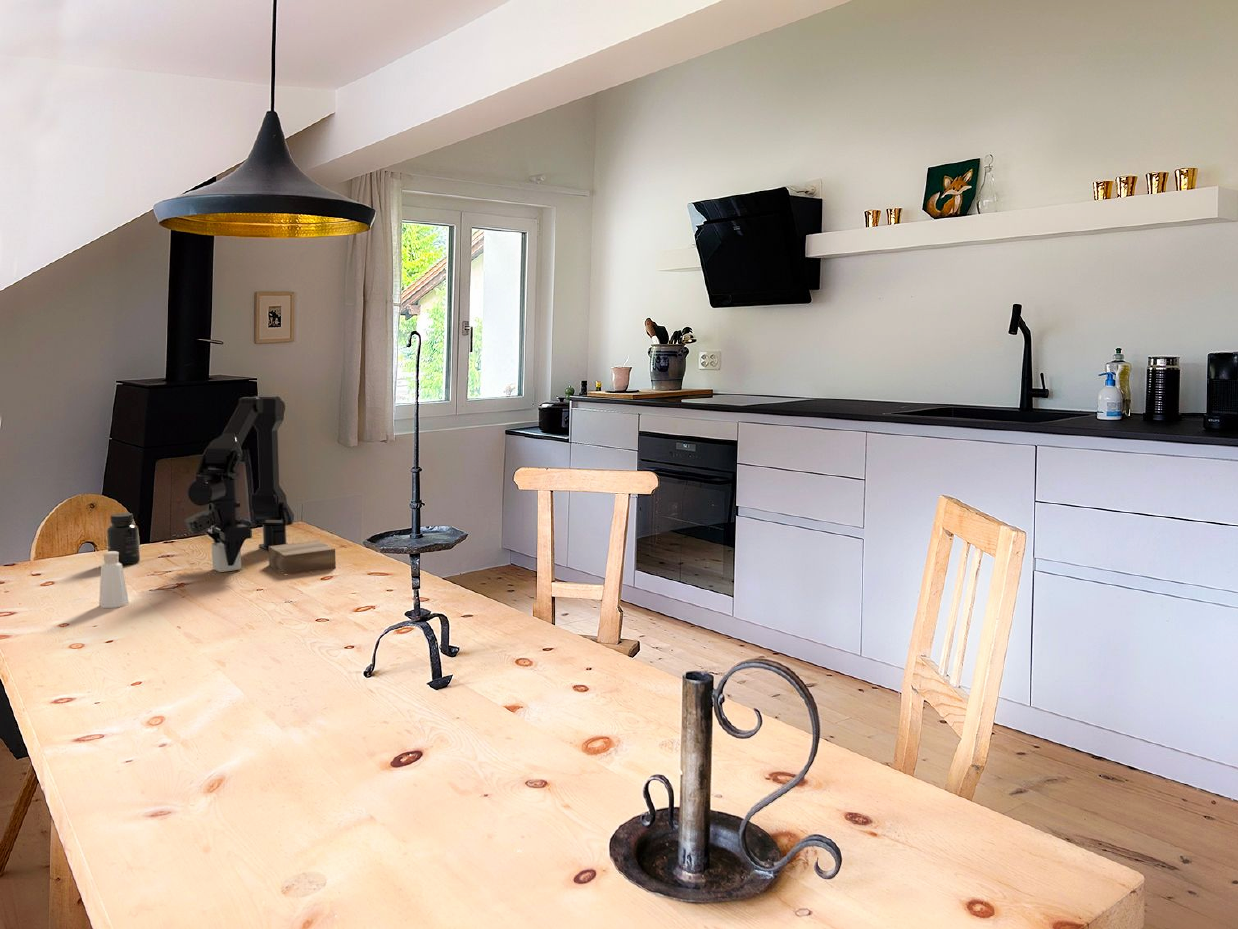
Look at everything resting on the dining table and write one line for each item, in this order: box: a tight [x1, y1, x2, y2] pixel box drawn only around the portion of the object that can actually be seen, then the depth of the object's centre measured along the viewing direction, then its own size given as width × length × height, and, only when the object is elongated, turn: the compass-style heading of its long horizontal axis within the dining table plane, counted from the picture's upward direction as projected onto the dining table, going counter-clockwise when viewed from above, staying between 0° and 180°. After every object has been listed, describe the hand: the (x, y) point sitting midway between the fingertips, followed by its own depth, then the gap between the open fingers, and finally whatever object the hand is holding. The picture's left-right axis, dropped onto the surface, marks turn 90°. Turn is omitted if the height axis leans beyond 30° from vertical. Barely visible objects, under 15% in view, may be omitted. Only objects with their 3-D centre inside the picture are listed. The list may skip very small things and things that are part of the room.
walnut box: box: [268, 540, 337, 575], centre depth 228 cm, size 12×12×5 cm
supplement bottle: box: [106, 512, 141, 567], centre depth 229 cm, size 7×7×12 cm
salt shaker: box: [98, 551, 130, 609], centre depth 194 cm, size 5×5×11 cm
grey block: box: [211, 542, 242, 573], centre depth 224 cm, size 5×5×6 cm
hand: (226, 563), depth 224 cm, fingers closed on grey block, 5 cm apart
